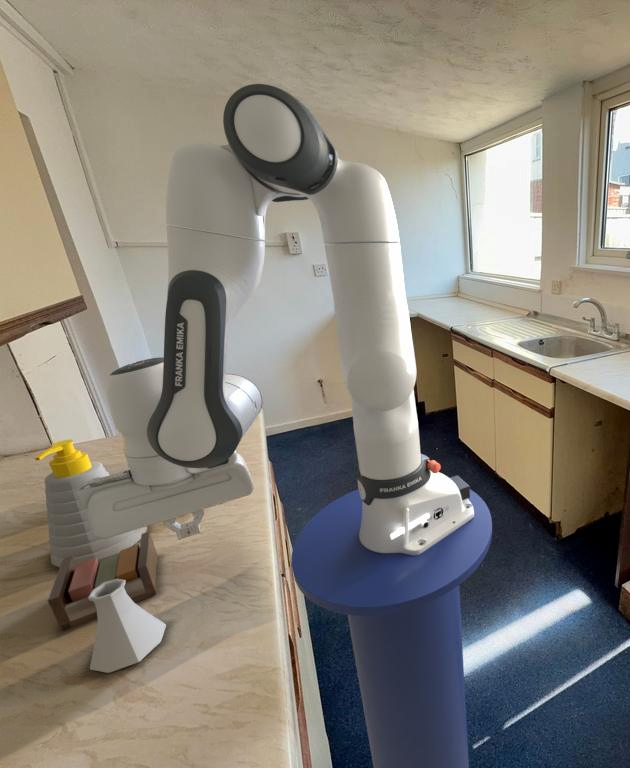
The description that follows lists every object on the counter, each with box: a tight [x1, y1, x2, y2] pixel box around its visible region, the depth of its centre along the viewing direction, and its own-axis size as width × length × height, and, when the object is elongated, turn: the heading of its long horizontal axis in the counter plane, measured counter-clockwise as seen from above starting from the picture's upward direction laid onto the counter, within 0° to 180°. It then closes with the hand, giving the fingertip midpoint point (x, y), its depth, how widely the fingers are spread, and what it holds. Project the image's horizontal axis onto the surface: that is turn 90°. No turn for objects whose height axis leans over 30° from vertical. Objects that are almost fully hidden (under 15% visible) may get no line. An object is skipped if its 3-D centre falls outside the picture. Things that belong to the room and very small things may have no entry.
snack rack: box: [47, 531, 159, 632], centre depth 61 cm, size 10×10×6 cm
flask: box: [88, 579, 167, 674], centre depth 51 cm, size 7×7×10 cm
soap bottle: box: [34, 438, 148, 569], centre depth 68 cm, size 12×12×20 cm
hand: (189, 534), depth 66 cm, fingers closed
